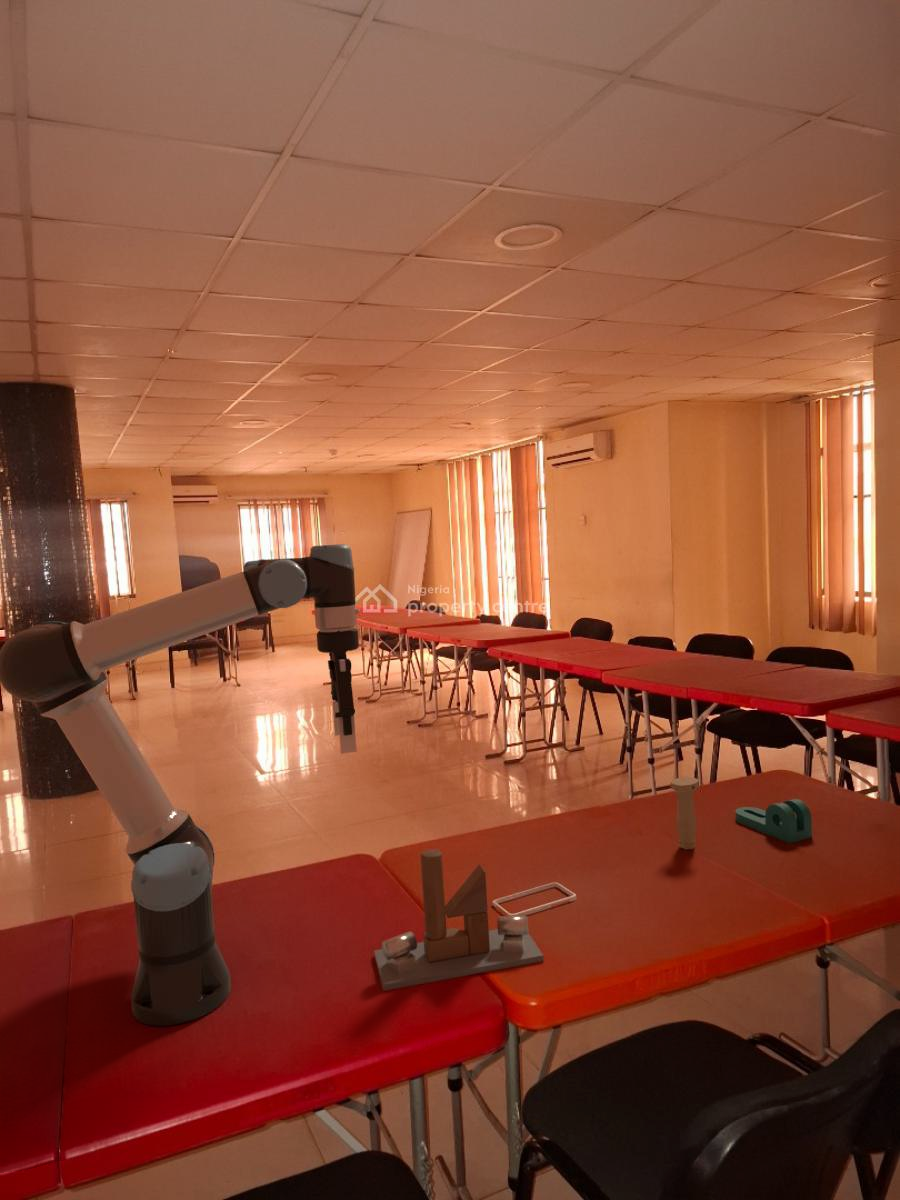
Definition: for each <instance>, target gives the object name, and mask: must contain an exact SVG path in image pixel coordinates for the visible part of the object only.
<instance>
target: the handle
mask: <svg viewBox="0 0 900 1200" xmlns="http://www.w3.org/2000/svg"><path fill="white" fill-rule="evenodd" d="M699 786H700V780H699V779H698V778H697V777H690V776H685V777H678V778H674V779H672V780H671V781H670V788H671V789H672V790H673V791H676V794H677V803H676V804H677V811H676V827H677V836H678V841H679V842H678V845H679V847H680V849H684V850H685V851H686V850H693V849H694V848H695V845H696V844H695V843H696V841H695V840H696V833H697V832H696V829H697V825H696V824H697V823H696V813H695V803H694V791H696V790H697V789H698V788H699Z"/></svg>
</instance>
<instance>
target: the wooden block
mask: <svg viewBox="0 0 900 1200" xmlns="http://www.w3.org/2000/svg"><path fill="white" fill-rule="evenodd" d="M420 867H421V879H422V880H421V881H422V882H421V884H422V896H423V897H422V898H423V913H424V927H425V929H424V930H425V932H424V933H423V935H422V936H423V937H422V938H423V942H424V952H425V955H426V957H427V960H428V962H434V961H440V960H445V959H451V958H457V957H462V956H468V955H469V953H470V955H475V954H480V953H486V952H489V951H490V943H489V915H488V914H489V913H488V911H489V910H488V896H487V893H488V892H487V891H488V890H487V878H486V875H487V874H486V871H485V869H484V868H483V866H482V864H481V863H479V864H478V865H477V866H476V868H474V870H473V871H472V872H471V873H470V875H469V876H468V877H467V878H466V880H465V881H464V882H463V883H462V885H461V886H460V887H459V888H458V890H457V891H456V892H454V893H455V894H453V896H452V897H451V898H450V899H449V901H447V903H446V900H445V898H446V897H445V885H444V884H445V883H444V870H443V854H442V852H441V851H440V850H438V849H427V850H423V851H422V852H421V853H420ZM456 917H463V929H464V930H463V929H459V928H455V927H451V928H447V918H448V919H450V918H456Z"/></svg>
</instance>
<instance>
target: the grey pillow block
mask: <svg viewBox="0 0 900 1200" xmlns="http://www.w3.org/2000/svg"><path fill="white" fill-rule="evenodd" d="M417 943H418V941H417V938H416V935H415V934H414V932H413V931H411V930H410V931H407V932H403V933H402V934H399V935H397V936H396V935H395V936H394V937H391V938H388V939H386V940H383V941H382V942H381V949H382V951H383V954H384V956H385V958H386V964H387V965H388V966H390V967H391V968H392V969H393V970H394V971H395V972H396V973H397V974H398V975H400V974H402V973H405V972H407V971H410V970H412V969H415V968H416V963H415V956H414V955H413V954H412V953H410V952H411V951H414V950H416V949H417Z"/></svg>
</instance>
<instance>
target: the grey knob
mask: <svg viewBox="0 0 900 1200" xmlns="http://www.w3.org/2000/svg"><path fill="white" fill-rule="evenodd" d="M497 929H498V935H504V940H503V943H504V952H523V944H524V935H528V933H529V919H528V915H526V916H508V915H507V916H503V915H502V916H497Z"/></svg>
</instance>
